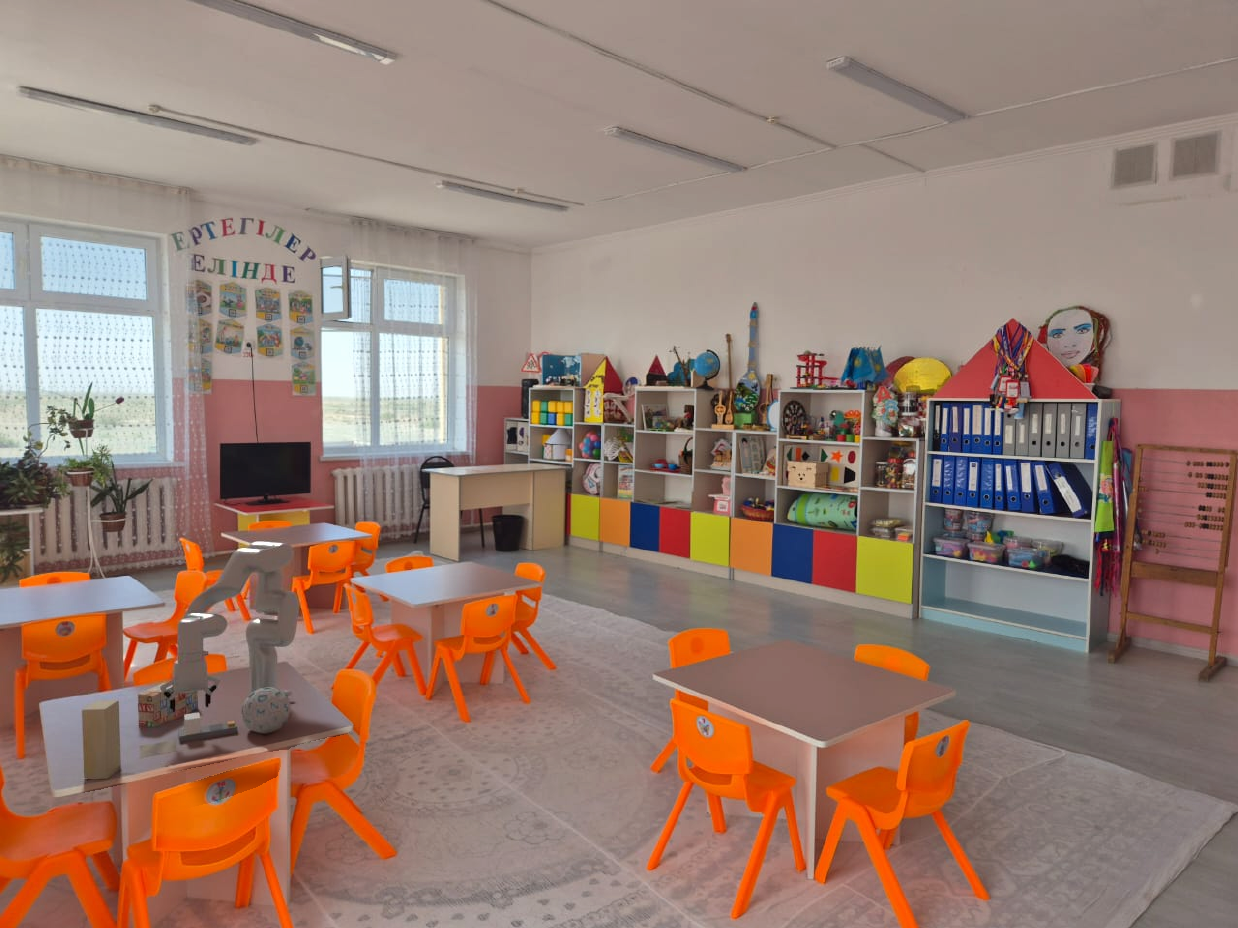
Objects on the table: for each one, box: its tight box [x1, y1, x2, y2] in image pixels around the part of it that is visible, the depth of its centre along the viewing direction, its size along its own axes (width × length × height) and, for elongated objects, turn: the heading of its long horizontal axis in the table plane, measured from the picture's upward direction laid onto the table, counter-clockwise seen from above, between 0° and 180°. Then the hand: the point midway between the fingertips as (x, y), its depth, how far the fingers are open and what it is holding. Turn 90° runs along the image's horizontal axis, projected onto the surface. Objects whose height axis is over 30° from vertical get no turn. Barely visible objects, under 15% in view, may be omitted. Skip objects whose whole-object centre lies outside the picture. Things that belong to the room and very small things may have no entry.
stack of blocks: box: [137, 682, 199, 728], centre depth 289 cm, size 21×6×12 cm, turn 169°
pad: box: [139, 739, 178, 759], centre depth 261 cm, size 10×10×1 cm
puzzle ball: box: [241, 687, 291, 735], centre depth 278 cm, size 15×15×15 cm
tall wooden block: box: [81, 699, 122, 780], centre depth 245 cm, size 8×7×21 cm
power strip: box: [177, 720, 238, 743], centre depth 273 cm, size 17×6×4 cm, turn 121°
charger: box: [183, 711, 202, 735], centre depth 271 cm, size 4×6×7 cm
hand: (190, 708), depth 269 cm, fingers open, 9 cm apart
